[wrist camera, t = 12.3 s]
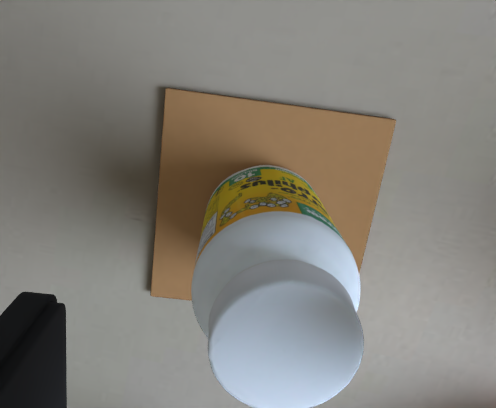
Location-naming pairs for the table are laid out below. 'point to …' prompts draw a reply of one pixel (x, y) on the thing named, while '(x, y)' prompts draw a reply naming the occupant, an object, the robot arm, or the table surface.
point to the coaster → (254, 154)
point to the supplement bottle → (276, 292)
